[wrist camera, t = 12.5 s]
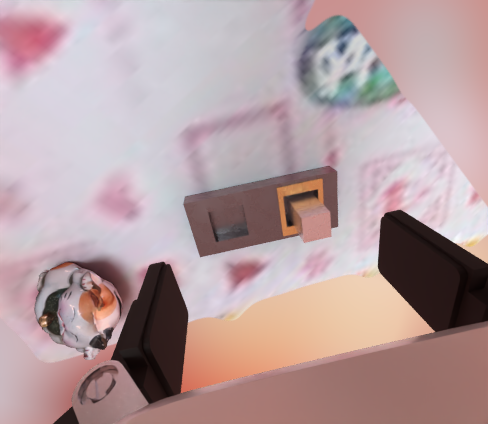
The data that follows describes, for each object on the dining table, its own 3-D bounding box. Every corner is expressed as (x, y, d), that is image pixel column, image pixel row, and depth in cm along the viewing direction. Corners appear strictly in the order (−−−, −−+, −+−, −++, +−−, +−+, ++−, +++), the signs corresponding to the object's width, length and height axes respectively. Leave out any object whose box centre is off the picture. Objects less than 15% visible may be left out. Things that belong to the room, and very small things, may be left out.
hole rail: (185, 196, 41) (183, 204, 38) (328, 166, 42) (337, 171, 39) (200, 247, 46) (200, 257, 43) (330, 218, 46) (338, 227, 43)
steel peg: (284, 194, 42) (301, 218, 34) (307, 188, 42) (330, 211, 34) (286, 215, 44) (304, 242, 36) (309, 210, 44) (331, 236, 36)
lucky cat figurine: (37, 254, 42) (24, 290, 31) (117, 250, 49) (130, 278, 38) (36, 337, 44) (23, 399, 33) (113, 322, 51) (124, 370, 40)
